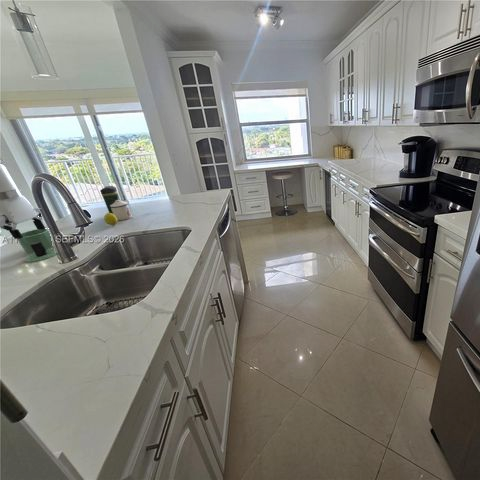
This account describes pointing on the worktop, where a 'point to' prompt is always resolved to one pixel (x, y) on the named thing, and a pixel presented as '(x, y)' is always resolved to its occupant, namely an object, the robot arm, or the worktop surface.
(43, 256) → the lid
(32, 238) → the green round open container
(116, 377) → the worktop surface
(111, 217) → the lemon
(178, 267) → the worktop surface
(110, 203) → the coffee jar
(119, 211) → the teacup with lid
